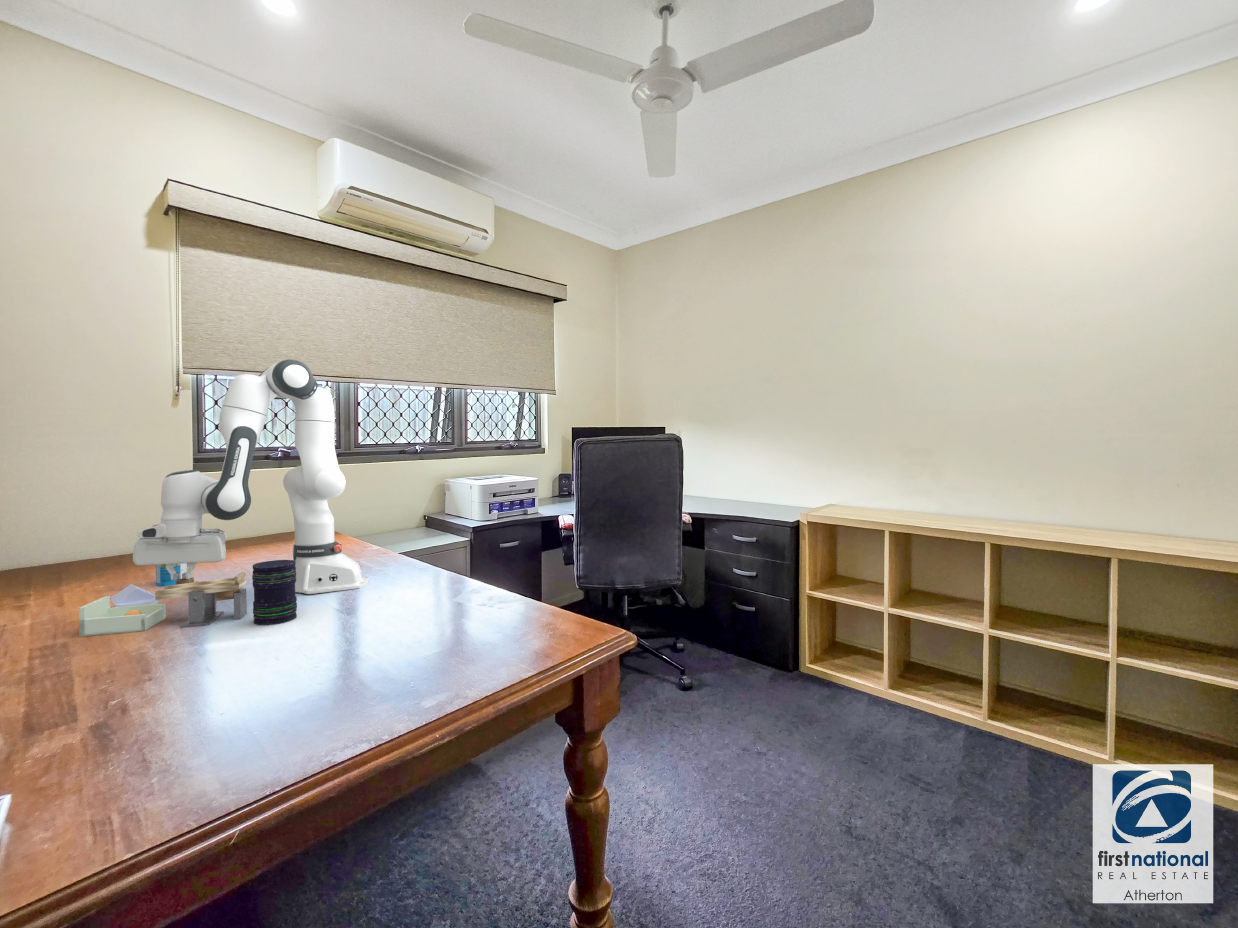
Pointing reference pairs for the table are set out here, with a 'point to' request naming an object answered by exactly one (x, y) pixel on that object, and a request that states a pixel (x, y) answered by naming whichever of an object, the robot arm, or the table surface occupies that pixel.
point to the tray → (117, 618)
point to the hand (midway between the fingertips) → (180, 579)
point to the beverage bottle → (168, 574)
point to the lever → (204, 588)
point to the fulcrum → (212, 608)
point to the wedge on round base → (133, 597)
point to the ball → (133, 612)
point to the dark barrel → (274, 592)
